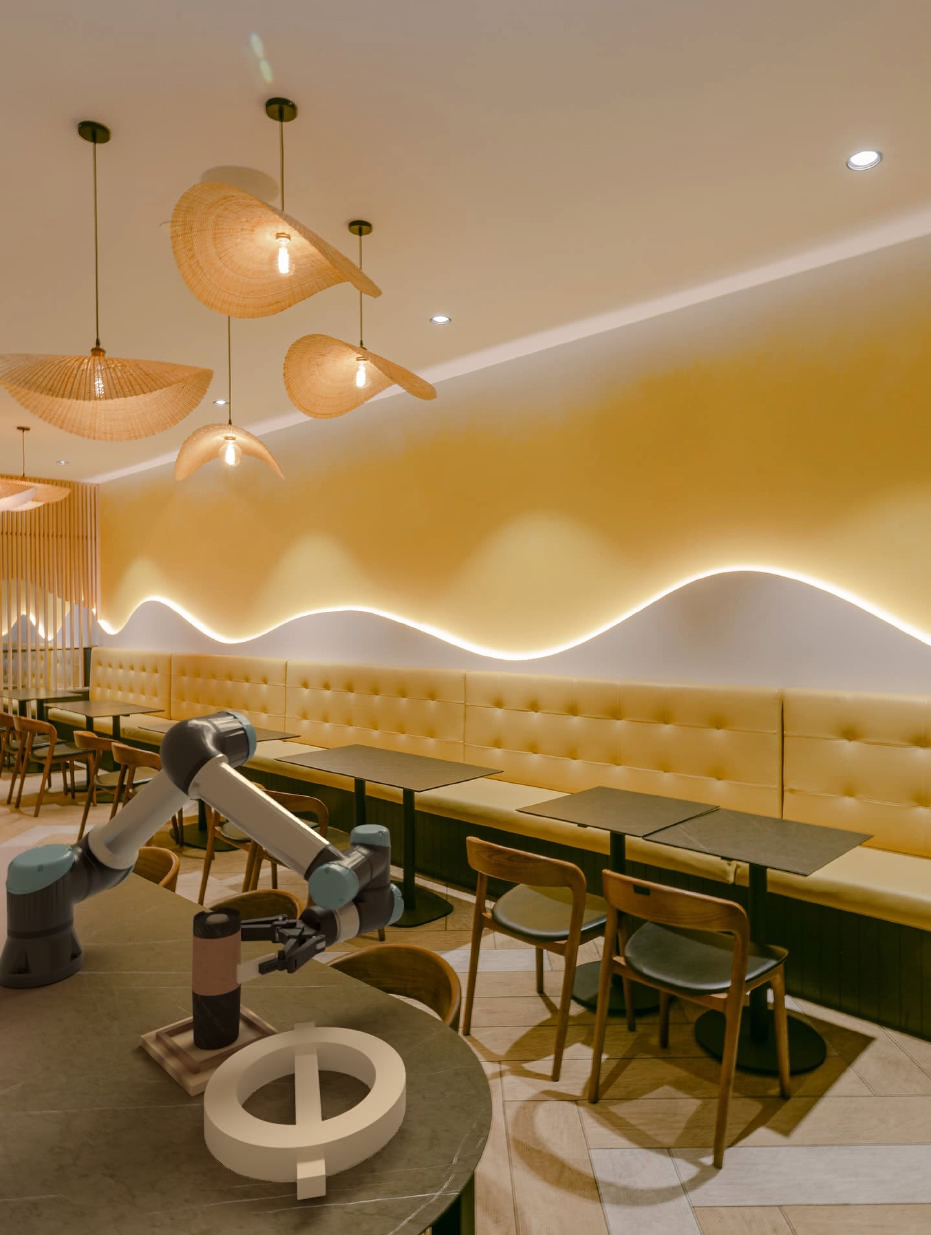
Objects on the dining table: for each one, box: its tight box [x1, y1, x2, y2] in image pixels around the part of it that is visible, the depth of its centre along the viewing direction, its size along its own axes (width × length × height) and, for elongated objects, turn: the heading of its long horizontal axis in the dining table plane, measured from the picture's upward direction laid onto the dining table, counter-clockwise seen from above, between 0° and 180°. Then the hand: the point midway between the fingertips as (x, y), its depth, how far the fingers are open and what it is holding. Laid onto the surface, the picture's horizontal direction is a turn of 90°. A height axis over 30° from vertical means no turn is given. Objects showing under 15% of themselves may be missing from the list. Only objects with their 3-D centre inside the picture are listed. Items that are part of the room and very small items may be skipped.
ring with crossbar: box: [203, 1021, 407, 1201], centre depth 111 cm, size 28×28×5 cm
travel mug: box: [191, 906, 242, 1050], centre depth 127 cm, size 8×8×20 cm
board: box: [139, 1002, 282, 1097], centre depth 127 cm, size 19×17×2 cm
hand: (217, 960), depth 126 cm, fingers open, 13 cm apart
